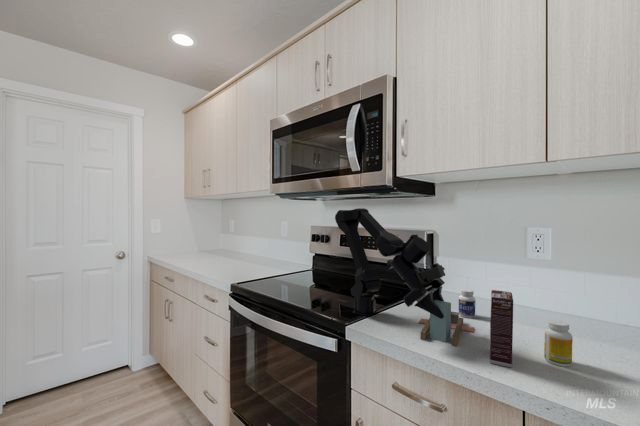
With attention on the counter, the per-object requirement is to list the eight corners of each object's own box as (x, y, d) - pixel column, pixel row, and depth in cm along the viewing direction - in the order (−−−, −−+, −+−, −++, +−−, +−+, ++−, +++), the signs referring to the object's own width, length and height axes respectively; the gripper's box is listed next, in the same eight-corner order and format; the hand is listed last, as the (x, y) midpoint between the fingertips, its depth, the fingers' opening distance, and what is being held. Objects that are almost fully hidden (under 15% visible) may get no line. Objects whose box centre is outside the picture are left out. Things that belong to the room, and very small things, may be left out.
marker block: (429, 338, 90) (430, 303, 90) (435, 333, 93) (435, 299, 93) (445, 342, 87) (446, 306, 87) (450, 337, 90) (450, 302, 90)
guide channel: (408, 336, 91) (408, 326, 91) (423, 315, 109) (423, 307, 109) (470, 349, 83) (470, 337, 83) (474, 324, 101) (475, 315, 101)
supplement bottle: (538, 357, 79) (539, 318, 78) (559, 356, 79) (559, 318, 79) (556, 367, 73) (556, 326, 73) (578, 367, 73) (578, 326, 73)
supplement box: (513, 368, 73) (513, 300, 72) (489, 363, 75) (490, 297, 75) (511, 353, 80) (512, 291, 80) (489, 349, 82) (490, 289, 82)
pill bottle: (457, 316, 108) (458, 290, 108) (459, 312, 113) (459, 287, 113) (475, 319, 106) (475, 292, 106) (475, 314, 110) (475, 289, 110)
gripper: (414, 258, 85) (457, 307, 78) (438, 252, 100) (475, 292, 93) (388, 283, 90) (425, 331, 83) (414, 273, 105) (448, 313, 98)
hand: (445, 315), depth 89 cm, fingers closed on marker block, 4 cm apart
